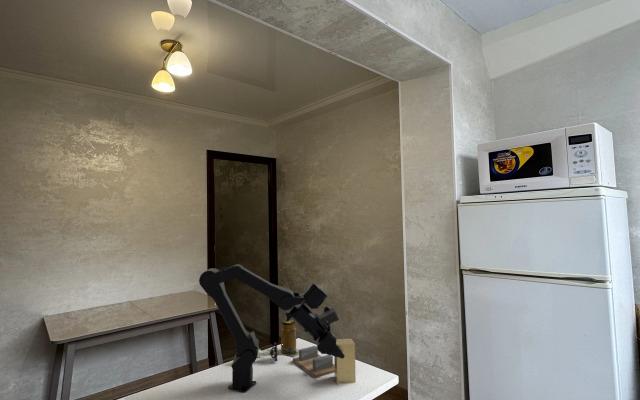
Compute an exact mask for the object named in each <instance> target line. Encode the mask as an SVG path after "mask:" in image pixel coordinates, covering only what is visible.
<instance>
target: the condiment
mask: <svg viewBox="0 0 640 400" xmlns="http://www.w3.org/2000/svg"><path fill="white" fill-rule="evenodd" d="M282 344H283V345H282ZM299 350H300V349H298V348H297V328H296V321H295V320H294V319H290V320H289V321H288V322H287V321H286V319H284V320H283V321H282V322H281V329H280V350H279V351H277V355H284V356H289V357H293V358H296V357H298V356H299Z"/></svg>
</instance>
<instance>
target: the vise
mask: <svg viewBox="0 0 640 400" xmlns="http://www.w3.org/2000/svg"><path fill="white" fill-rule="evenodd" d="M292 362H293V363H294V364H296V365H298V367H300V368H301V369H303V370H304V372H306V373H308V374H309V375H311V376H312V377H313V378H314V379H316V378H321V377H323V376H327V375H330V374H333V373H334V374H335V364H334V363H333V362H334V356H332V355H328V354H325V355H320V353H319V351H318V349H317V345H313V346H309V347H305V348H301V349H300V350H299V354H298V356H296V357H293V358H292Z"/></svg>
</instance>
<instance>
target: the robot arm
mask: <svg viewBox="0 0 640 400" xmlns="http://www.w3.org/2000/svg"><path fill="white" fill-rule="evenodd" d="M233 279H237V280H238V281H240V282H242V283H244V284H245V285H247V286H249V287H251V288H252V289H254V290H256V291H258V292H260V293H261V294H263V295H265V296H266V297H268V298H269V300H271V301H272V303H273V304H275V305H276V306H277V307H278V308H279V309H281V310H283V311H285V320H286V321H287V322H288V321H289V320H294V321H295V323H296V322H297V324H298V325H300V327H301V328H302V329H303V331H304V332H305V333H308V335H310V336H311V337H312V340H314V342H316V347H317V349H318V353H319V354H321V355H331V356H333V357H334V356H335V357H338V358H342V359H343V358H344V357H345V355H344V354H343V353H342V351H341V350H340V348H339V347H338V346H337V344H336V341H337V339H338V338H337V337H336V335H334V333H333V332H332V331H331V324H333V323H335V322H338V321H339V320H340V316H339V315H338V312H337V311H336V308H334V307H329V305H326V306H324V307H323V312H321V314H318V313H315V312H313V311H312V310H315V309H316V310H318V309H319V308H320V307H321V306H322V304H323V303H324V302H325V301H326V300H327V298H329V295H328V294H327V293H326V292H325V290H323V289H322V288H321V287H320V286H318V285H317V284H315V282H312V283H311V284H310V285H309V287H308V288H307V289H306V290H305V291H304V292H295V291H293V290H292V289H290V288H287V287H284V286H281V285H277V284H274V283H272V282H270V281H268V280H266V279H265V278H263V277H261V276H260V275H257V274H256V273H254V272H252V271H250V270H249V269H247V268H245V267H244V266H243V265H241V264H239V263H238V264H234V265H232V266H227V267H223V268H219V269H217V268H213V267H212V268H208V269H207V270H205V271H204V272H202V273H201V274H200V276H199V279H198V282H199V283H198V284H199V286H200V287H201V288H202V289H203V290H204V292H205V293H206V294H207V295H208V296H209V297H210V298H211V299H212V300H213V301H214V303H215V306H216V307H217V309H218V311H219V312H220V315H221V317H222V318H223V320H224V322H225V324H226V325H227V328H228V329H229V330H228V331H230V333H231V335H232V337H233V340H234V344H235V349H236V353H235V354H234V358H233V360H232V363H231V371H232V373H231V374H232V375H231V376H232V377H231V380H232V381H231V382H232V384H229V385H228V387H227V388H228V390H233V391H238V392H241V393H247V391H249V390H250V389H251V388H252V387H254V386H255V385H257V380H256V381H255V380H253V379H254V375H253V373H254V372H253V371H254V370H253V369H254V367H253V365H252V363H253V362H255V363H256V360H257V359H258V358H257V356H258V350H259V349H260V347H259V346H260V345H259V344H260V340H259V339H258V338H257V336H256V334H255V331H254V330H252V331H251V332H249V331H248V330H247V329H246V327H245V325H244V324H243V322H242V320H241V318H240V316H239V314H238V312H237V311H236V309H235V307H234V304H233V302H232V301H231V299H230V297H229V296H228V294H227V291H226V287H225V282H228V281H231V280H233Z"/></svg>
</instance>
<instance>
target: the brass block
mask: <svg viewBox="0 0 640 400" xmlns="http://www.w3.org/2000/svg"><path fill="white" fill-rule="evenodd" d="M336 339H337V341H336V344H337V346H338V347H339V348H340V350H341V351H342V353H343V354H344V355H345V357H344V358H343V359H342V358H338V357H335V356H333V362H334V363H333V364H334V365H335V372H334V378H335V381H336V384H347V383H348V384H350V383H351V384H352V383H356V380H357V379H356V343H355V342H354V340H353V339H352V338H336Z"/></svg>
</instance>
